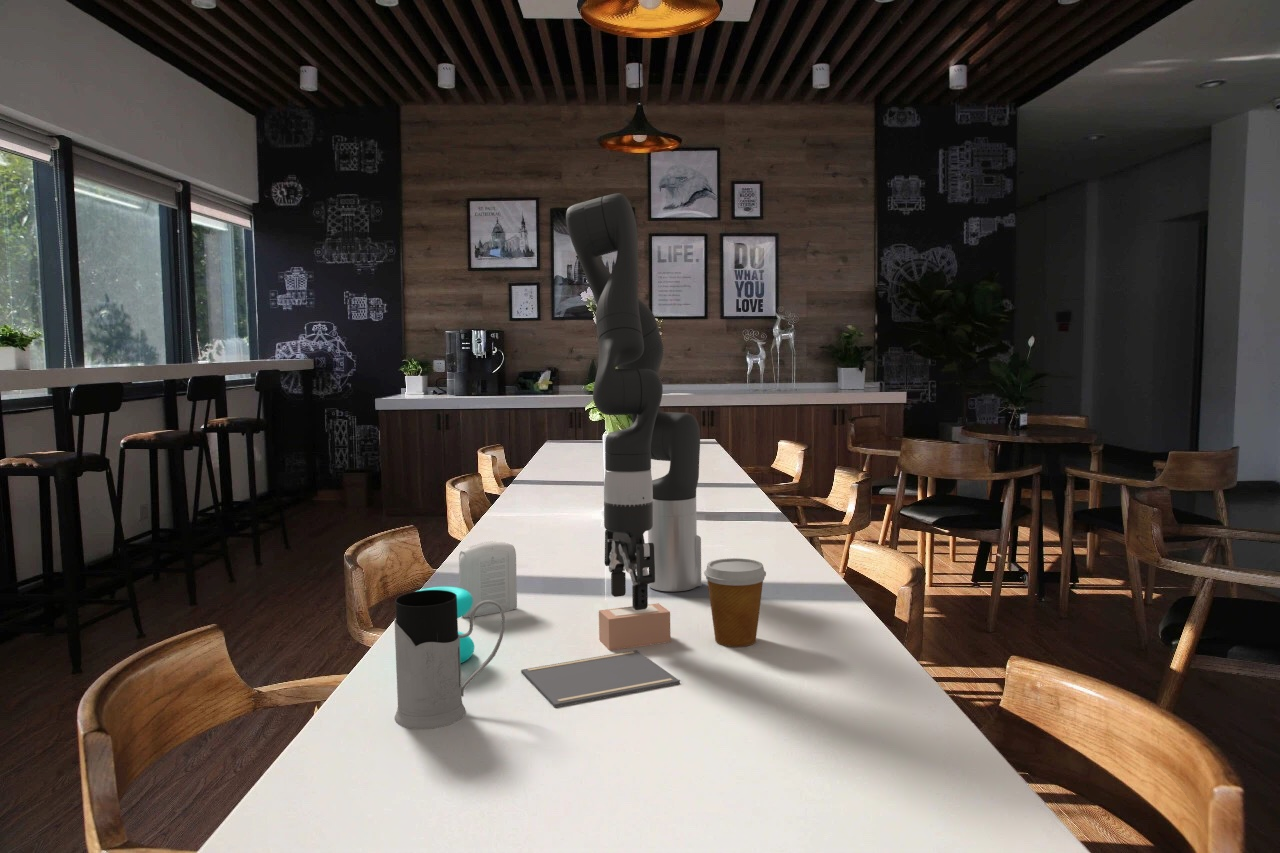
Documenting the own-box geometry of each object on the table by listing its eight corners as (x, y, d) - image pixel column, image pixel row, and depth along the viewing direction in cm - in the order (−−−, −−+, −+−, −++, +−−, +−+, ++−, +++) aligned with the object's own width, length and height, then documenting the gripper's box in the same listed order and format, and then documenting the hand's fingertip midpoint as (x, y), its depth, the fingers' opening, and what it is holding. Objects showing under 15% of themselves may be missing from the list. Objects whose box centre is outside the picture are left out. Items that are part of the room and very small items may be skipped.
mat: (636, 652, 136) (636, 649, 136) (679, 683, 123) (679, 679, 123) (521, 672, 128) (521, 669, 128) (554, 707, 116) (554, 703, 116)
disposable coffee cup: (771, 633, 144) (771, 559, 143) (759, 653, 135) (759, 574, 134) (713, 628, 147) (712, 555, 146) (697, 647, 138) (696, 569, 137)
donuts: (428, 582, 140) (484, 587, 137) (430, 645, 141) (487, 651, 138) (389, 599, 131) (448, 605, 127) (391, 666, 132) (451, 674, 128)
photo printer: (510, 604, 163) (508, 536, 162) (521, 609, 159) (519, 540, 158) (456, 614, 157) (454, 544, 156) (466, 620, 154) (463, 548, 152)
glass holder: (390, 707, 117) (385, 593, 115) (499, 690, 122) (495, 581, 121) (399, 733, 109) (394, 611, 107) (515, 714, 114) (511, 597, 113)
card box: (658, 633, 145) (658, 602, 145) (670, 643, 141) (670, 611, 140) (599, 641, 142) (598, 609, 142) (609, 651, 137) (608, 618, 137)
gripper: (670, 503, 135) (670, 611, 136) (632, 491, 147) (632, 589, 149) (623, 507, 131) (624, 617, 133) (589, 494, 144) (590, 594, 146)
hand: (628, 602), depth 141 cm, fingers open, 8 cm apart
